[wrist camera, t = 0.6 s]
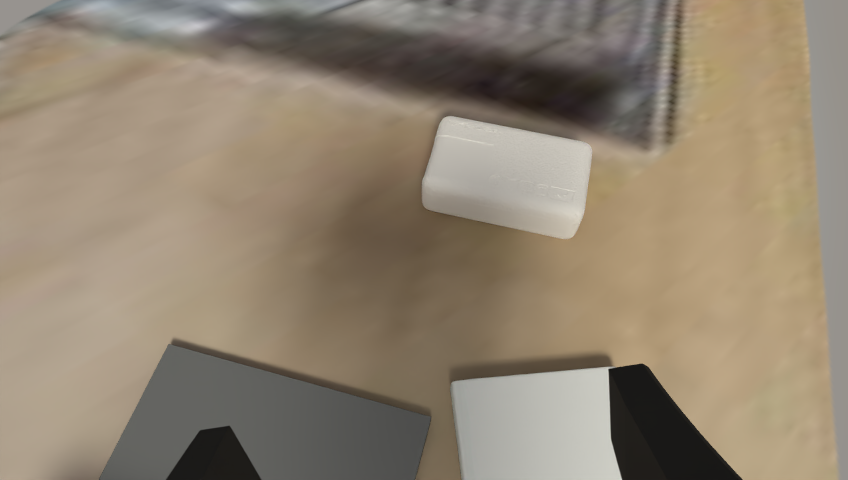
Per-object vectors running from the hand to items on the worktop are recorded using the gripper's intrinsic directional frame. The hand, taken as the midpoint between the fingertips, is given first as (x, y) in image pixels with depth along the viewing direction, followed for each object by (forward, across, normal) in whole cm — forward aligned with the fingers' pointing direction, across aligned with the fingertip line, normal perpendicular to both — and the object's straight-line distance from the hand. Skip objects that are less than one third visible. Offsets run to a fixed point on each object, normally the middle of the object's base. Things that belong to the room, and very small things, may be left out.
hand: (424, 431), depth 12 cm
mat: (+9, +10, +14) cm, 19 cm away
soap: (+24, -3, +10) cm, 26 cm away
